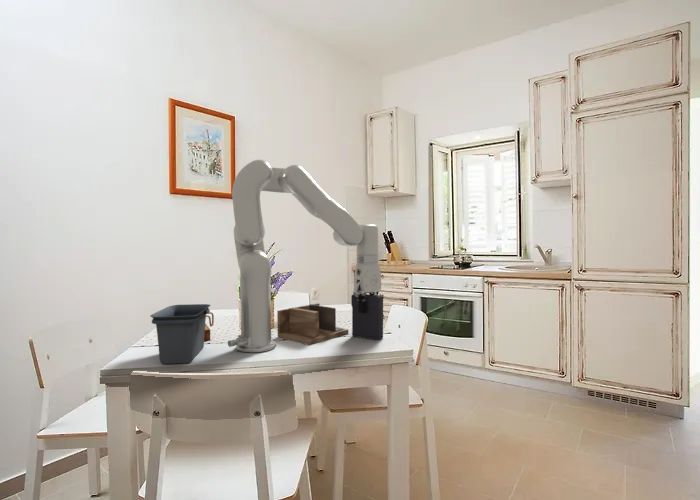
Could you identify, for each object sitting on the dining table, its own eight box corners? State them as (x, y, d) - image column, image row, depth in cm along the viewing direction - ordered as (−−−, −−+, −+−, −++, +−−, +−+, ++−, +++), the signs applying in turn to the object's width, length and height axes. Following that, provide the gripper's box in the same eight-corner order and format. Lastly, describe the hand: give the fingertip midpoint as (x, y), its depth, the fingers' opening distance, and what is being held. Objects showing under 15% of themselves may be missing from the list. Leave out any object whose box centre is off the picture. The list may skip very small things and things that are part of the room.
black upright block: (384, 338, 146) (384, 295, 146) (378, 340, 143) (378, 297, 142) (357, 334, 152) (357, 293, 152) (351, 336, 148) (351, 294, 148)
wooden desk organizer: (309, 344, 138) (308, 314, 138) (277, 337, 148) (277, 309, 148) (348, 333, 153) (348, 306, 153) (317, 327, 164) (317, 301, 163)
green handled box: (185, 344, 141) (185, 331, 141) (181, 334, 156) (180, 322, 155) (211, 341, 145) (210, 328, 145) (204, 331, 159) (204, 320, 159)
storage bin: (171, 347, 136) (169, 303, 136) (219, 345, 138) (219, 302, 138) (147, 368, 115) (146, 317, 115) (205, 365, 117) (204, 315, 116)
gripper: (360, 261, 137) (360, 316, 138) (390, 259, 150) (390, 309, 151) (343, 260, 142) (343, 313, 143) (373, 258, 155) (373, 307, 156)
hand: (367, 310), depth 147 cm, fingers closed on black upright block, 4 cm apart
